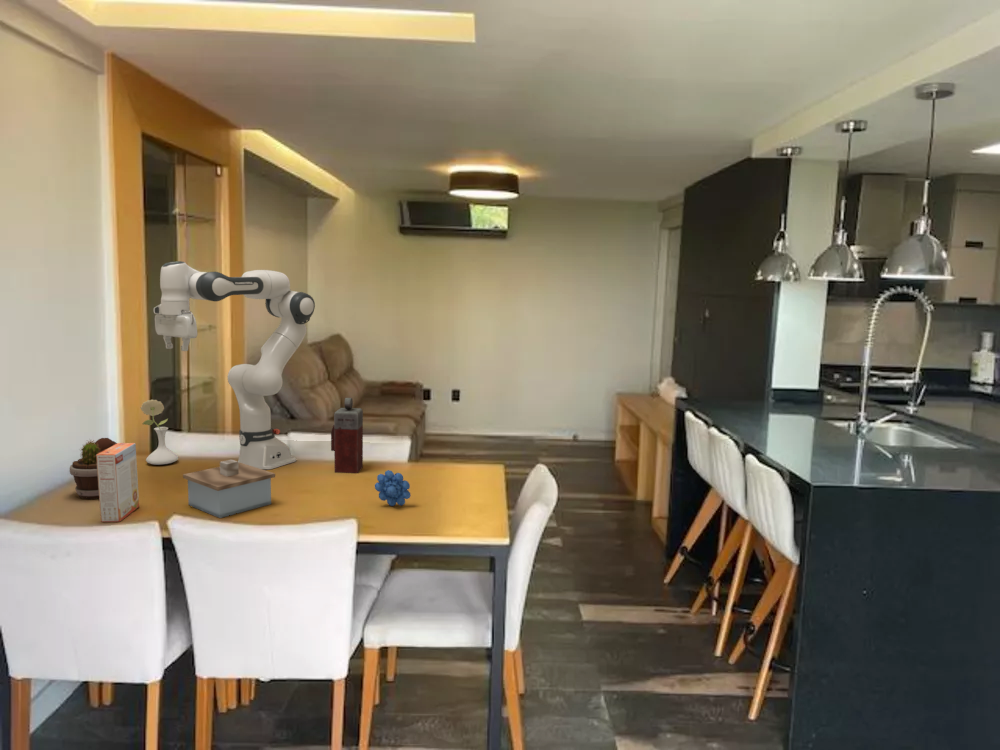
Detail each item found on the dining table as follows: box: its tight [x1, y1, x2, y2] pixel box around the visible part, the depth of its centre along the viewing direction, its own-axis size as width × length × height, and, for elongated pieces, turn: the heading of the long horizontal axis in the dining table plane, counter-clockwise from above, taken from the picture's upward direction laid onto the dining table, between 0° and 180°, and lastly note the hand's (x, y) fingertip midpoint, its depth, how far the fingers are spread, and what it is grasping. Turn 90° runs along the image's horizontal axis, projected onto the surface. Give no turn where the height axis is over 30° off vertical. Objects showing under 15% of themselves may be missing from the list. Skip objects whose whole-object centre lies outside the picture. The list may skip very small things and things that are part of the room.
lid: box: [182, 459, 276, 491], centre depth 225 cm, size 20×20×5 cm
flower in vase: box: [140, 399, 179, 466], centre depth 271 cm, size 13×11×25 cm
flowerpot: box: [69, 439, 101, 500], centre depth 231 cm, size 14×15×20 cm
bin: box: [187, 478, 272, 519], centre depth 226 cm, size 18×18×9 cm
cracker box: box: [96, 442, 140, 523], centre depth 213 cm, size 14×6×21 cm, turn 5°
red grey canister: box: [330, 397, 364, 474], centre depth 268 cm, size 9×11×28 cm
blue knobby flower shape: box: [374, 469, 411, 507], centre depth 228 cm, size 12×7×12 cm, turn 92°
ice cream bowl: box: [94, 437, 118, 453], centre depth 250 cm, size 11×11×15 cm
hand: (177, 349), depth 242 cm, fingers open, 8 cm apart
